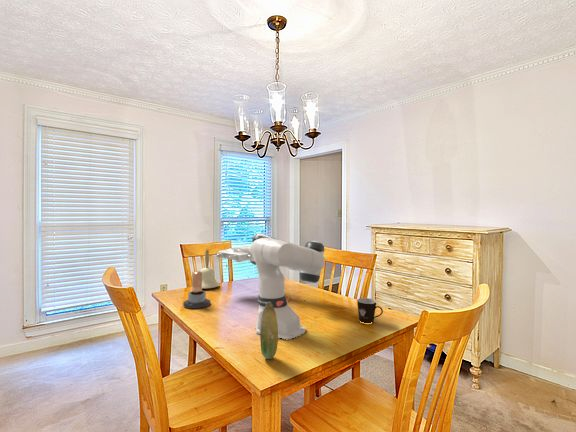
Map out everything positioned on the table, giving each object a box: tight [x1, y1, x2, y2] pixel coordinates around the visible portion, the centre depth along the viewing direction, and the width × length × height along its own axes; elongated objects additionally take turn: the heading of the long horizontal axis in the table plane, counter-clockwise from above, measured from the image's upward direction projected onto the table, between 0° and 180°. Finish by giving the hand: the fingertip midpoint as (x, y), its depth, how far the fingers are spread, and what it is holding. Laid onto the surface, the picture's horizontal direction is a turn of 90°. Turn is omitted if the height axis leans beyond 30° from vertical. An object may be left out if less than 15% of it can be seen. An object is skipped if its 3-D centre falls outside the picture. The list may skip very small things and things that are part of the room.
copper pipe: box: [191, 270, 203, 295], centre depth 168 cm, size 5×5×16 cm
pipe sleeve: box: [182, 290, 211, 310], centre depth 168 cm, size 14×14×6 cm
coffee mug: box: [356, 297, 384, 323], centre depth 144 cm, size 12×9×10 cm
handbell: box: [200, 248, 220, 289], centre depth 203 cm, size 15×15×25 cm
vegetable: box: [259, 302, 279, 360], centre depth 109 cm, size 6×6×20 cm
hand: (222, 256), depth 176 cm, fingers open, 8 cm apart
